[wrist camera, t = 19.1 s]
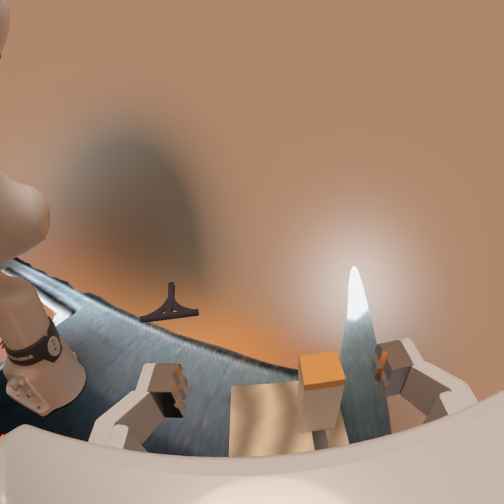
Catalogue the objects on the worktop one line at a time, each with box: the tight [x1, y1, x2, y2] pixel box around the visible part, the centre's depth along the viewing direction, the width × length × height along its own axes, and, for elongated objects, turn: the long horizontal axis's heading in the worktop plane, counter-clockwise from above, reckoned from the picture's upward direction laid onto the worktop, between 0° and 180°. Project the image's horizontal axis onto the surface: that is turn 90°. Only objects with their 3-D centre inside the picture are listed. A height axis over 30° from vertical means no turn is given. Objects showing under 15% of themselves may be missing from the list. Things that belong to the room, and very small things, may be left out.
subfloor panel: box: [229, 381, 349, 457], centre depth 39 cm, size 17×16×1 cm
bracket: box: [140, 282, 199, 322], centre depth 73 cm, size 14×15×3 cm
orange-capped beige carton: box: [297, 351, 346, 433], centre depth 36 cm, size 5×5×12 cm
